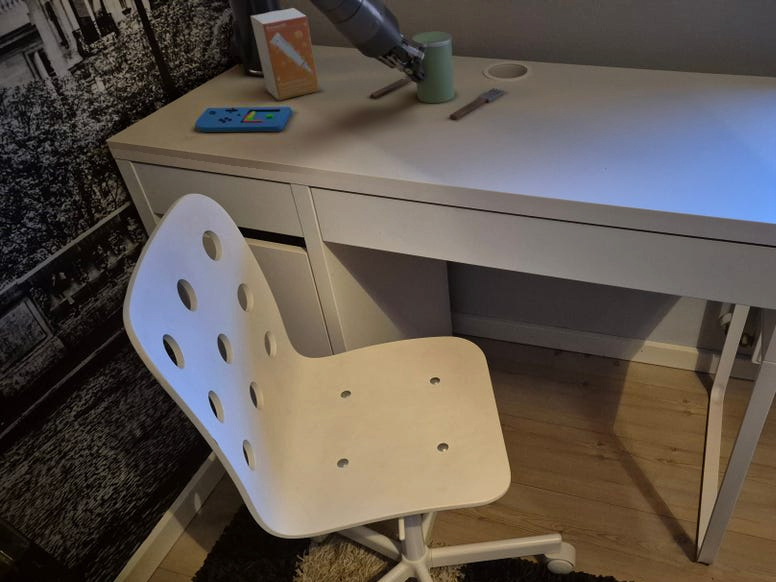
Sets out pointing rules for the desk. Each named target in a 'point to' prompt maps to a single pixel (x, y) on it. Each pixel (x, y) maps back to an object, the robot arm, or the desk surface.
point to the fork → (477, 103)
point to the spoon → (390, 88)
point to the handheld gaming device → (243, 119)
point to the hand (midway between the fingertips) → (420, 77)
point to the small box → (286, 53)
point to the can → (436, 67)
